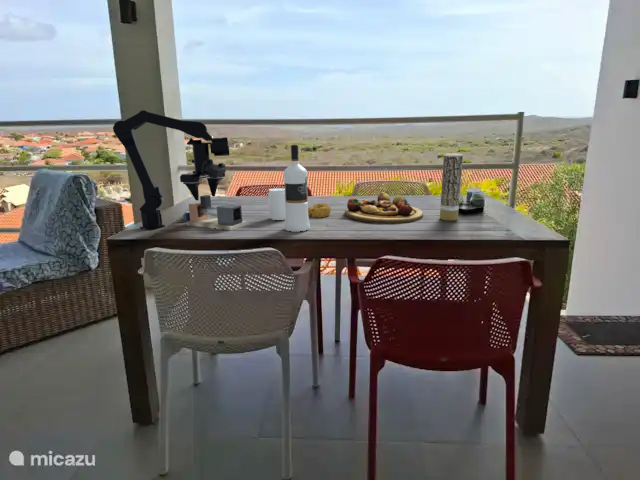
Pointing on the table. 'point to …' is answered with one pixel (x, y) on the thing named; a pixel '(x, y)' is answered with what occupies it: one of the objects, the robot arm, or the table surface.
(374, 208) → the wooden plate with food
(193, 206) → the socket
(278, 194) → the beverage can
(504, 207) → the table surface
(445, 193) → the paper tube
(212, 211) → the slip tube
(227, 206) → the sleeve
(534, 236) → the table surface
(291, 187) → the vodka
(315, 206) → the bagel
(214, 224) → the base board
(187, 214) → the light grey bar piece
